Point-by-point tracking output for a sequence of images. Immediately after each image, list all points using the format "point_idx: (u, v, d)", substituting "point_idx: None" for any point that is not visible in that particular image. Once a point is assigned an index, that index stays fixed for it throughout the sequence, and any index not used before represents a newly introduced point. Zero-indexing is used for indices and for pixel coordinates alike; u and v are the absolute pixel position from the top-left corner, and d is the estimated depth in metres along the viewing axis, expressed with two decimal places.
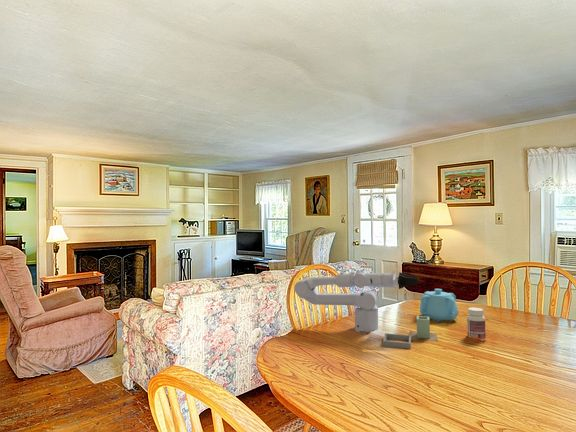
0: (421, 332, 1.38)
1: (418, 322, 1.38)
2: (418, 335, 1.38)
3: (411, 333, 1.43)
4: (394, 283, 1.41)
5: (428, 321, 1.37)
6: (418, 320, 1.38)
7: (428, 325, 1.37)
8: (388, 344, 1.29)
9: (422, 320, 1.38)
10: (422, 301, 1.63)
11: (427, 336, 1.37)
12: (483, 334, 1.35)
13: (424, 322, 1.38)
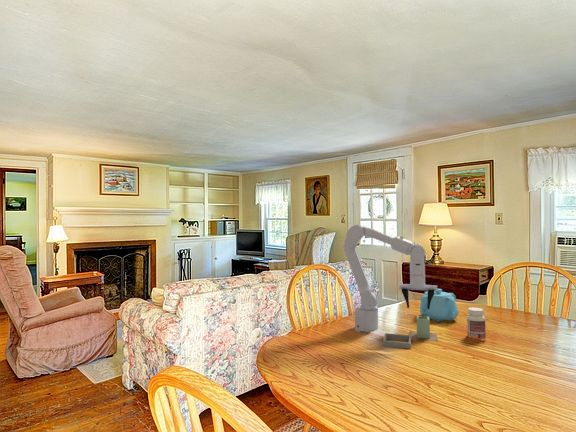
0: (421, 332, 1.38)
1: (418, 322, 1.38)
2: (418, 335, 1.38)
3: (411, 333, 1.43)
4: None
5: (428, 321, 1.37)
6: (418, 320, 1.38)
7: (428, 325, 1.37)
8: (388, 344, 1.29)
9: (422, 320, 1.38)
10: (422, 301, 1.63)
11: (427, 336, 1.37)
12: (483, 334, 1.35)
13: (424, 322, 1.38)
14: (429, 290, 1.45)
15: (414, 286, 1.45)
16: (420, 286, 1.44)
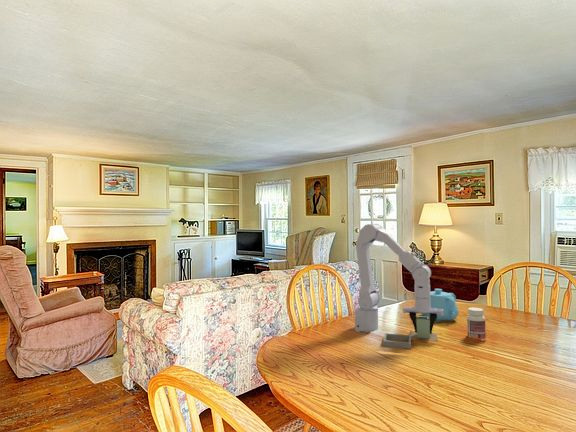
0: (421, 332, 1.38)
1: (418, 322, 1.38)
2: (418, 335, 1.38)
3: (411, 333, 1.43)
4: None
5: (428, 321, 1.37)
6: (418, 320, 1.38)
7: (428, 325, 1.37)
8: (388, 344, 1.29)
9: (422, 320, 1.38)
10: None
11: (427, 336, 1.37)
12: (483, 334, 1.35)
13: (424, 322, 1.38)
14: (435, 314, 1.38)
15: (419, 310, 1.38)
16: (425, 310, 1.37)
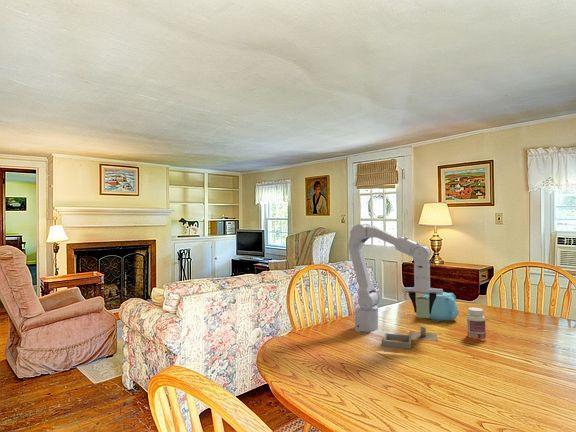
0: (421, 312, 1.38)
1: (418, 302, 1.38)
2: (418, 315, 1.38)
3: (411, 333, 1.43)
4: (442, 291, 1.37)
5: (428, 301, 1.37)
6: (418, 300, 1.38)
7: (428, 305, 1.37)
8: (388, 344, 1.29)
9: (422, 300, 1.38)
10: None
11: (427, 316, 1.37)
12: (483, 334, 1.35)
13: (424, 302, 1.38)
14: (434, 294, 1.38)
15: (418, 289, 1.38)
16: (425, 289, 1.37)
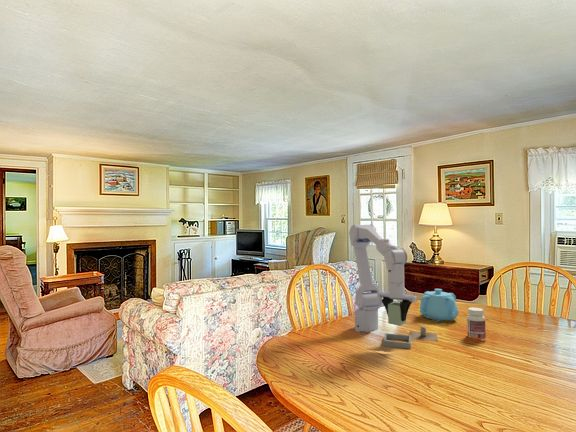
0: (392, 318, 1.32)
1: (389, 307, 1.33)
2: (389, 321, 1.33)
3: (411, 333, 1.43)
4: (415, 298, 1.28)
5: (398, 307, 1.30)
6: (389, 305, 1.33)
7: (398, 311, 1.30)
8: (388, 344, 1.29)
9: (393, 306, 1.32)
10: (422, 301, 1.63)
11: (397, 323, 1.30)
12: (483, 334, 1.35)
13: (395, 308, 1.31)
14: (407, 300, 1.30)
15: (389, 295, 1.32)
16: (395, 295, 1.30)
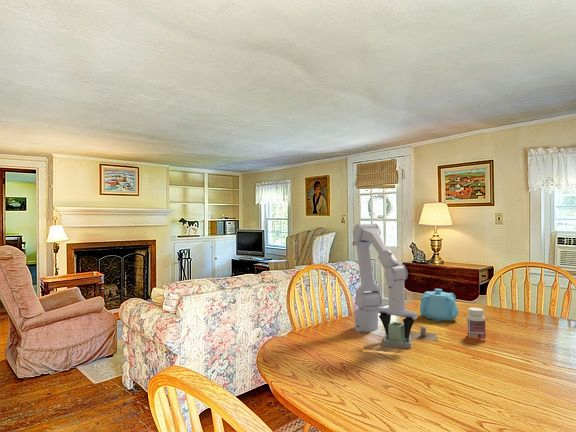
0: (392, 338, 1.32)
1: (390, 328, 1.32)
2: None
3: (411, 333, 1.43)
4: (415, 315, 1.28)
5: (399, 328, 1.30)
6: (390, 326, 1.32)
7: (399, 332, 1.30)
8: (388, 344, 1.29)
9: (393, 326, 1.31)
10: (422, 301, 1.63)
11: None
12: (483, 334, 1.35)
13: (395, 328, 1.31)
14: (407, 317, 1.30)
15: (390, 311, 1.32)
16: (396, 312, 1.30)
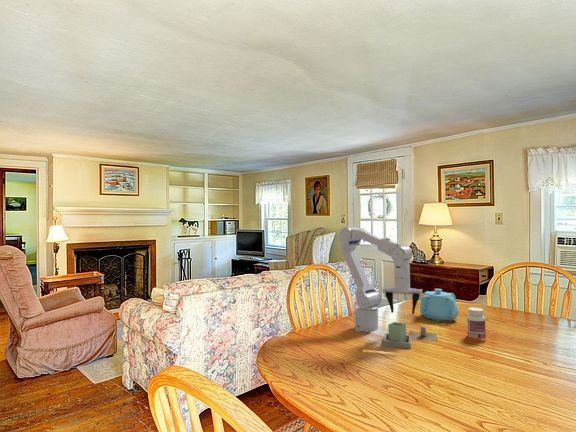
0: (392, 338, 1.32)
1: (390, 328, 1.32)
2: None
3: (411, 333, 1.43)
4: None
5: (399, 328, 1.30)
6: (390, 326, 1.32)
7: (399, 332, 1.30)
8: (388, 344, 1.29)
9: (393, 326, 1.31)
10: (422, 301, 1.63)
11: None
12: (483, 334, 1.35)
13: (395, 328, 1.31)
14: (414, 294, 1.38)
15: (398, 290, 1.38)
16: (404, 290, 1.37)
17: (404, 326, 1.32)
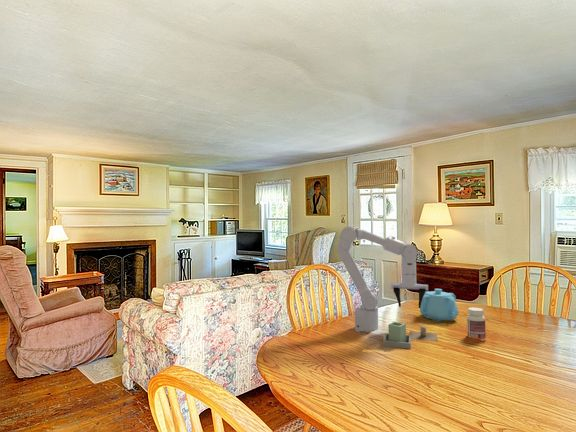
0: (392, 338, 1.32)
1: (390, 328, 1.32)
2: None
3: (411, 333, 1.43)
4: None
5: (399, 328, 1.30)
6: (390, 326, 1.32)
7: (399, 332, 1.30)
8: (388, 344, 1.29)
9: (393, 326, 1.31)
10: (422, 301, 1.63)
11: None
12: (483, 334, 1.35)
13: (395, 328, 1.31)
14: (420, 289, 1.47)
15: (405, 285, 1.47)
16: (411, 285, 1.46)
17: (404, 326, 1.32)
